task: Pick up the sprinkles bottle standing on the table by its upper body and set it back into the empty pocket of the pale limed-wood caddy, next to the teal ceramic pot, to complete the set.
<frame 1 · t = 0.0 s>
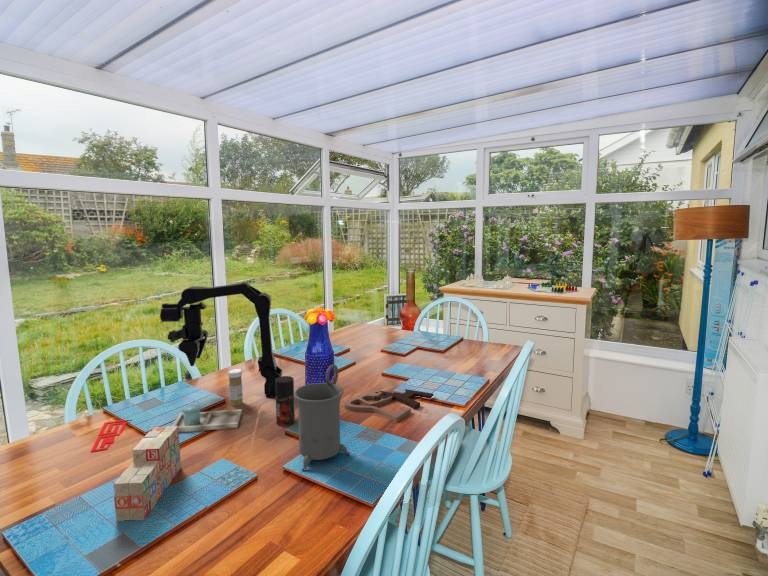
hand: (195, 362, 159), 15 cm above the table, fingers open, 9 cm apart
maze puzzle: (135, 432, 137), on the table
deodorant: (285, 422, 144), on the table
pot: (192, 423, 140), point 1 cm above the table, touching caddy
caddy: (208, 425, 141), on the table
wood carving: (387, 404, 160), on the table
sprinkles bottle: (236, 406, 156), on the table
stack of blocks: (152, 493, 106), on the table
grey footed bucket: (321, 455, 123), on the table
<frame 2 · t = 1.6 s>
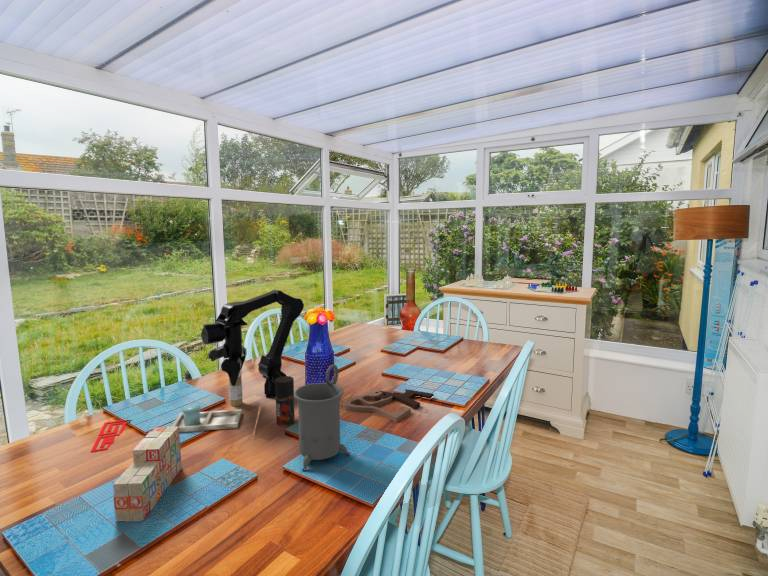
hand: (235, 380, 154), 10 cm above the table, fingers open, 9 cm apart
nothing on the table moved.
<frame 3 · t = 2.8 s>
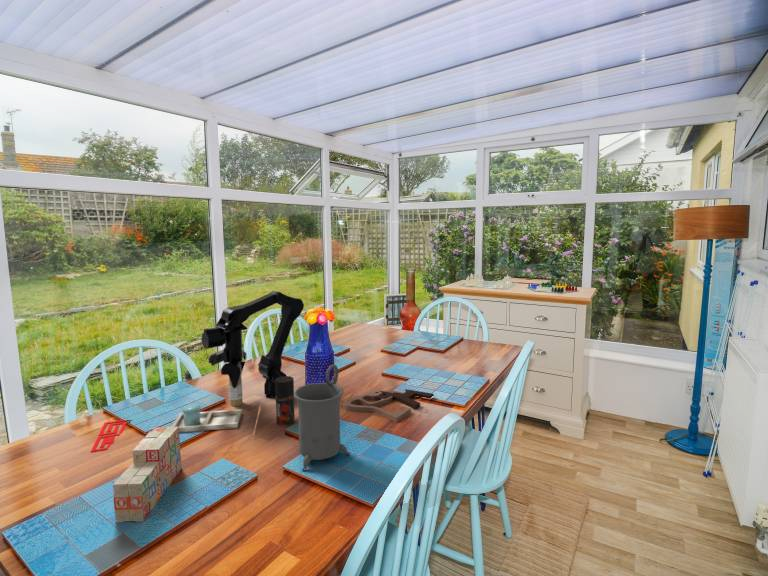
hand: (235, 385, 155), 8 cm above the table, fingers closed on sprinkles bottle, 4 cm apart
sprinkles bottle: (236, 406, 156), on the table, touching gripper
everything else where it was.
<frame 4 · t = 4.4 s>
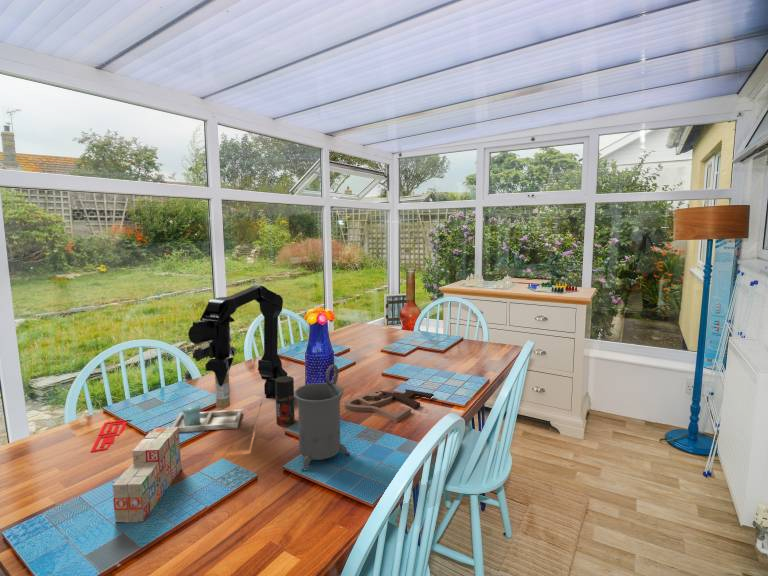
hand: (222, 383, 142), 13 cm above the table, fingers closed on sprinkles bottle, 4 cm apart
sprinkles bottle: (223, 406, 143), point 5 cm above the table, touching gripper
everything else where it was.
when the fingers open (10 cm above the table, at t = 6.0 s): sprinkles bottle stays where it is, resting on caddy.
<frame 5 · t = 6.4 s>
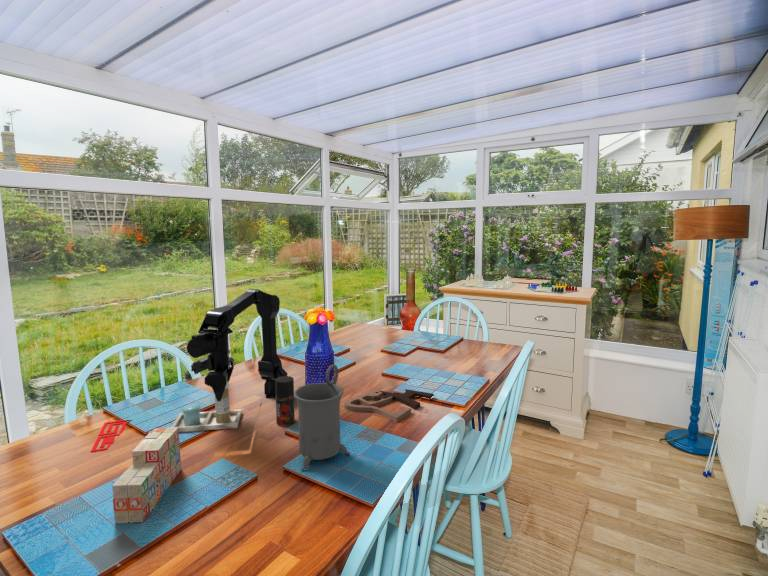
hand: (221, 395, 140), 10 cm above the table, fingers open, 9 cm apart
sprinkles bottle: (223, 421, 142), point 1 cm above the table, touching caddy
everything else where it was.
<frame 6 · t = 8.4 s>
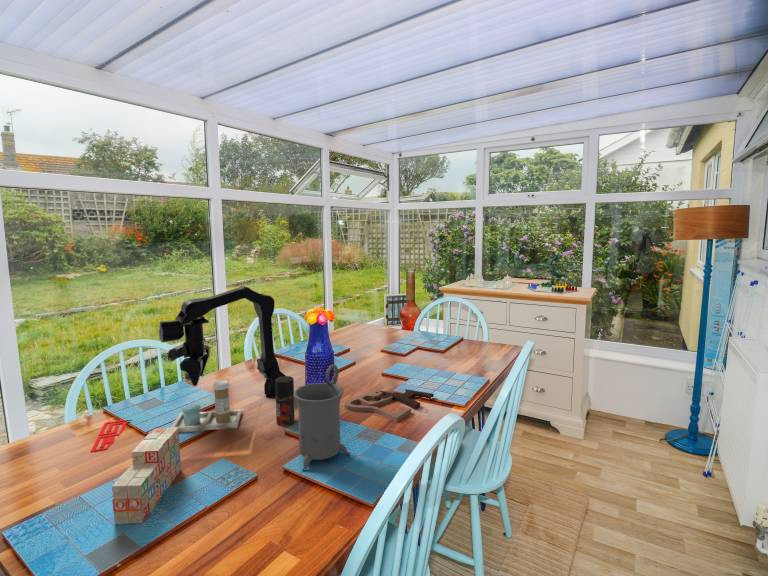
hand: (197, 380, 148), 12 cm above the table, fingers open, 9 cm apart
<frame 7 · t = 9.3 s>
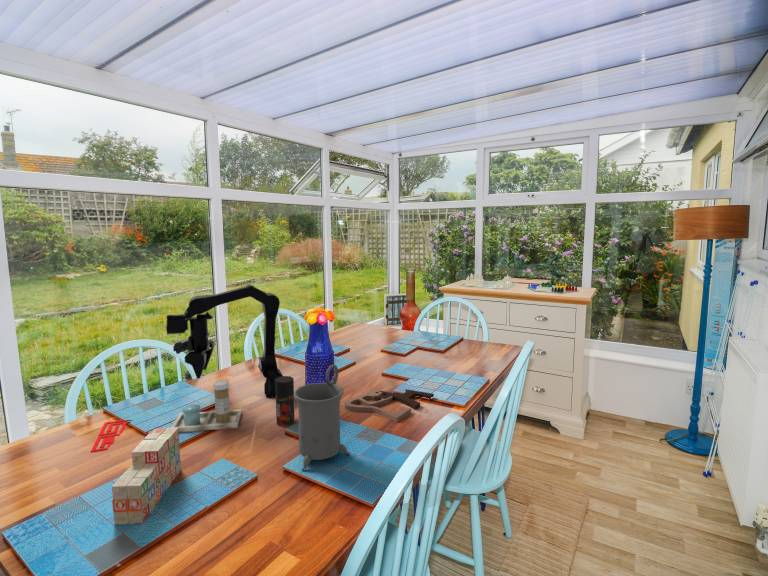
hand: (201, 373, 155), 12 cm above the table, fingers open, 9 cm apart
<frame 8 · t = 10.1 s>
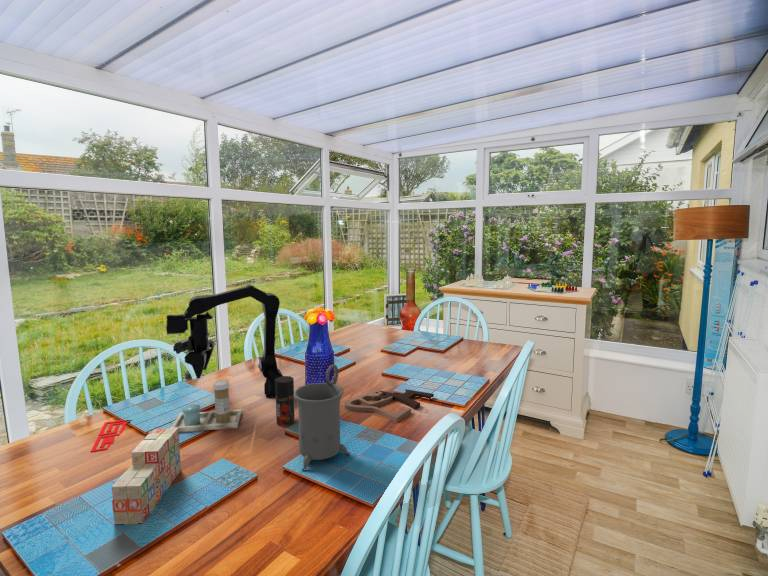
hand: (201, 373, 155), 12 cm above the table, fingers open, 9 cm apart
at the end: sprinkles bottle inside the target area on the caddy (0.2 cm from its centre), point 0.8 cm above the caddy's base; sprinkles bottle tilted 0°; the gripper is holding nothing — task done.
